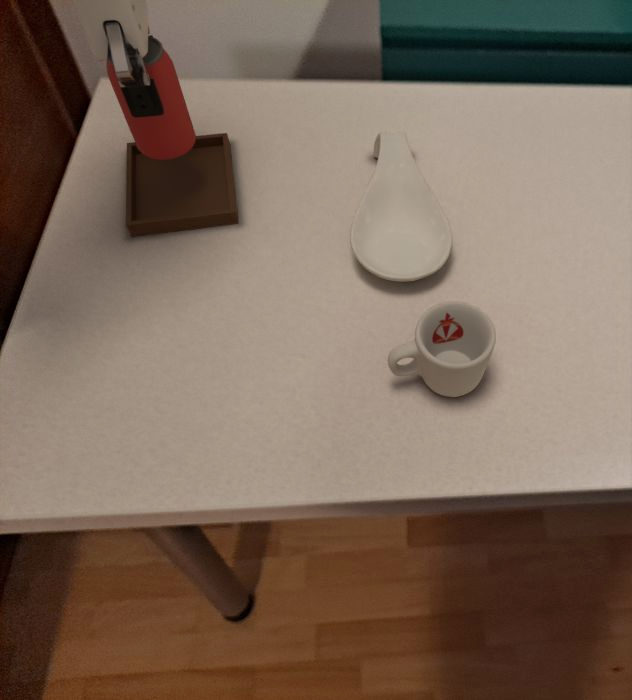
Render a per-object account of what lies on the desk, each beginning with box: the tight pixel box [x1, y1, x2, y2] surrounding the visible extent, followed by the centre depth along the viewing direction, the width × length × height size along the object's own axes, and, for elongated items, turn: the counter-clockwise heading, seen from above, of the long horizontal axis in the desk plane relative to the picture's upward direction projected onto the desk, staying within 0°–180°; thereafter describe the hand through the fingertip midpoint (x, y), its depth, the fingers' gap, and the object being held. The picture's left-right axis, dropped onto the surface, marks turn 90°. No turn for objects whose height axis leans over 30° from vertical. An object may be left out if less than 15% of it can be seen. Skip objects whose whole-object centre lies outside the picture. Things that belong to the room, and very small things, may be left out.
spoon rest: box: [349, 131, 453, 282], centre depth 82 cm, size 24×12×7 cm, turn 8°
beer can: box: [105, 35, 197, 160], centre depth 74 cm, size 7×7×12 cm
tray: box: [125, 132, 239, 238], centre depth 85 cm, size 12×14×2 cm
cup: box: [387, 300, 497, 398], centre depth 70 cm, size 11×8×8 cm
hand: (148, 91), depth 74 cm, fingers closed on beer can, 6 cm apart
